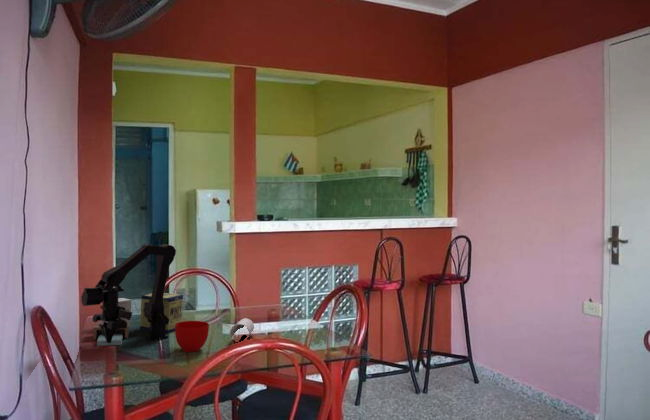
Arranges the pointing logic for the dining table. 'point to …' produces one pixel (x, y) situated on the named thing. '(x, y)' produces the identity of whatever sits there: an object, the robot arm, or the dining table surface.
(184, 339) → the ceramic cup
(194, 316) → the dining table surface
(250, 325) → the white plastic bottle
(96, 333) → the low shelf
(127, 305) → the supplement box
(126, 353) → the dining table surface
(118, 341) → the grey-blue square plate
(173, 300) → the protein box
